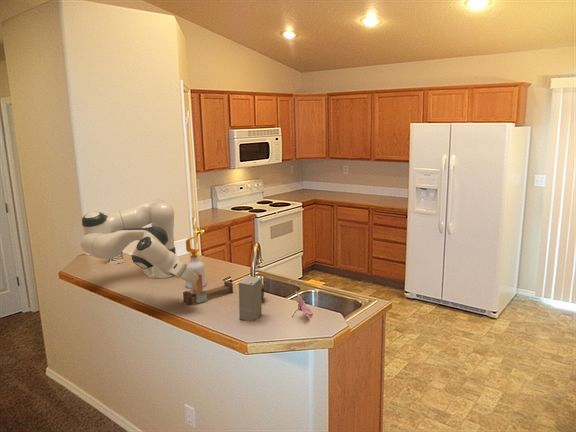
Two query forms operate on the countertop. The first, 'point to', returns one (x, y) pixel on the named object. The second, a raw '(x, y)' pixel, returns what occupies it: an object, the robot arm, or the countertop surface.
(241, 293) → the skincare box
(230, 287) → the rail
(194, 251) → the soap bottle
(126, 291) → the countertop surface
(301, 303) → the lily
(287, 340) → the countertop surface
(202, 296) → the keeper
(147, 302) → the countertop surface
